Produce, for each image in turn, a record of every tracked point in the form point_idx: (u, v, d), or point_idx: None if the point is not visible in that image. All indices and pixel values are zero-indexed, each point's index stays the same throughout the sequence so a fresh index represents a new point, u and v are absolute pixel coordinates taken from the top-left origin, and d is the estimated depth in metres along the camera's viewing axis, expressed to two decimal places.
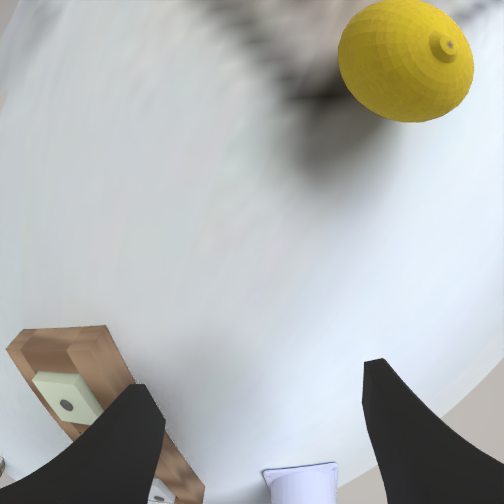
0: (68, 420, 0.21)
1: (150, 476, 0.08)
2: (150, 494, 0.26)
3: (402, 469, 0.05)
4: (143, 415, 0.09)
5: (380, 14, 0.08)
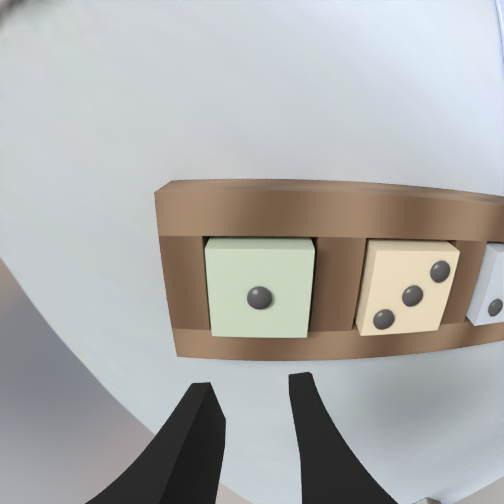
0: (304, 321, 0.16)
1: (216, 480, 0.08)
2: None
3: None
4: (210, 415, 0.09)
5: None
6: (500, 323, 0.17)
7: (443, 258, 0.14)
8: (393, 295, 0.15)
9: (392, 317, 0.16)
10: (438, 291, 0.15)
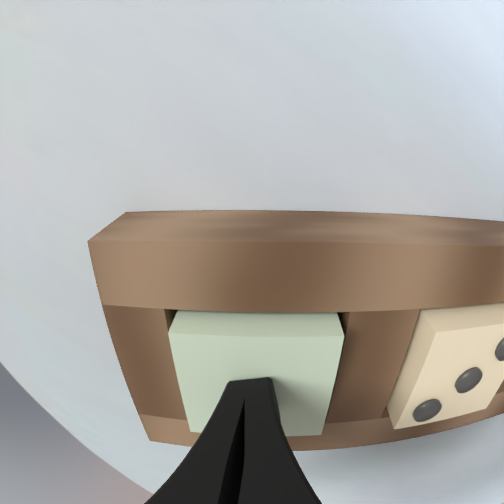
0: (319, 420, 0.10)
1: None
2: None
3: None
4: None
5: None
6: None
7: None
8: (444, 382, 0.09)
9: (438, 407, 0.10)
10: (499, 368, 0.09)
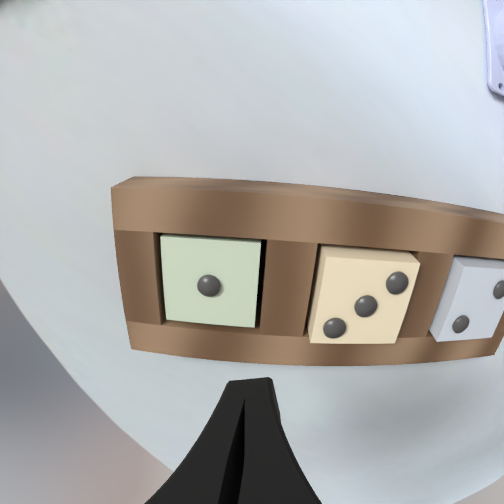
0: (251, 312, 0.17)
1: None
2: (486, 299, 0.15)
3: None
4: None
5: None
6: (468, 340, 0.17)
7: (400, 269, 0.14)
8: (344, 303, 0.15)
9: (343, 326, 0.16)
10: (395, 303, 0.15)
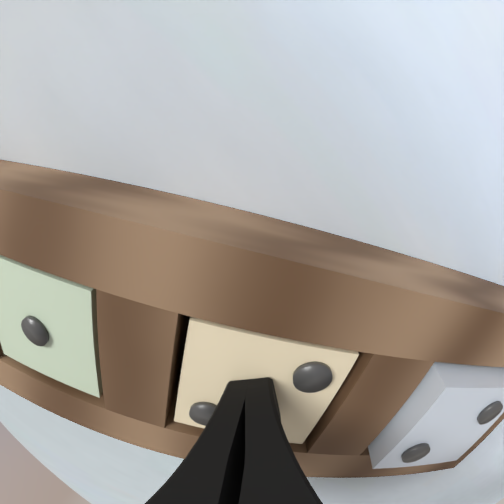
0: (92, 379, 0.10)
1: None
2: (465, 424, 0.09)
3: None
4: None
5: None
6: None
7: (322, 359, 0.09)
8: (221, 388, 0.09)
9: None
10: (307, 401, 0.10)
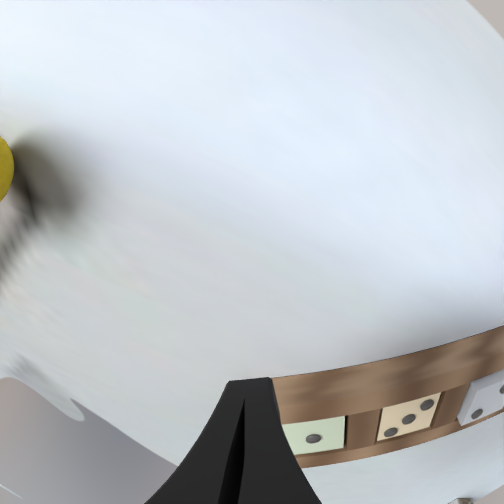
0: (341, 442, 0.22)
1: None
2: (495, 396, 0.19)
3: None
4: None
5: None
6: None
7: (429, 398, 0.20)
8: (395, 421, 0.21)
9: (396, 430, 0.21)
10: (426, 412, 0.21)
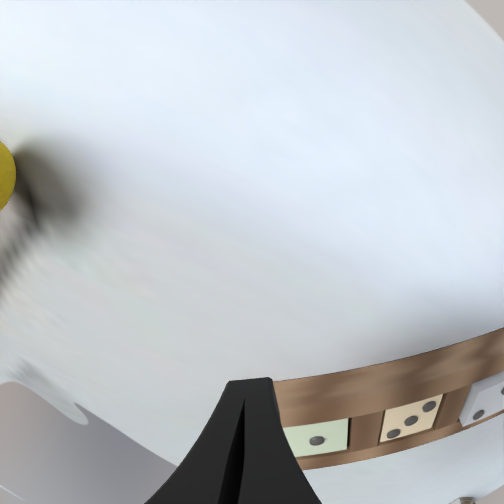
0: (344, 444, 0.22)
1: None
2: (496, 397, 0.19)
3: None
4: None
5: None
6: None
7: (431, 400, 0.20)
8: (398, 423, 0.21)
9: (399, 431, 0.22)
10: (429, 413, 0.21)
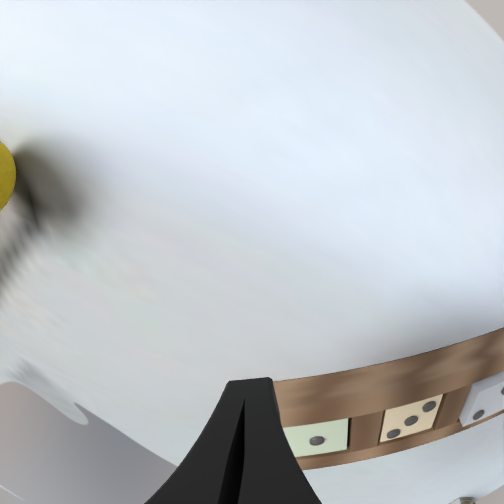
0: (344, 444, 0.22)
1: None
2: (496, 397, 0.19)
3: None
4: None
5: None
6: None
7: (431, 400, 0.20)
8: (398, 423, 0.21)
9: (399, 431, 0.22)
10: (429, 413, 0.21)
